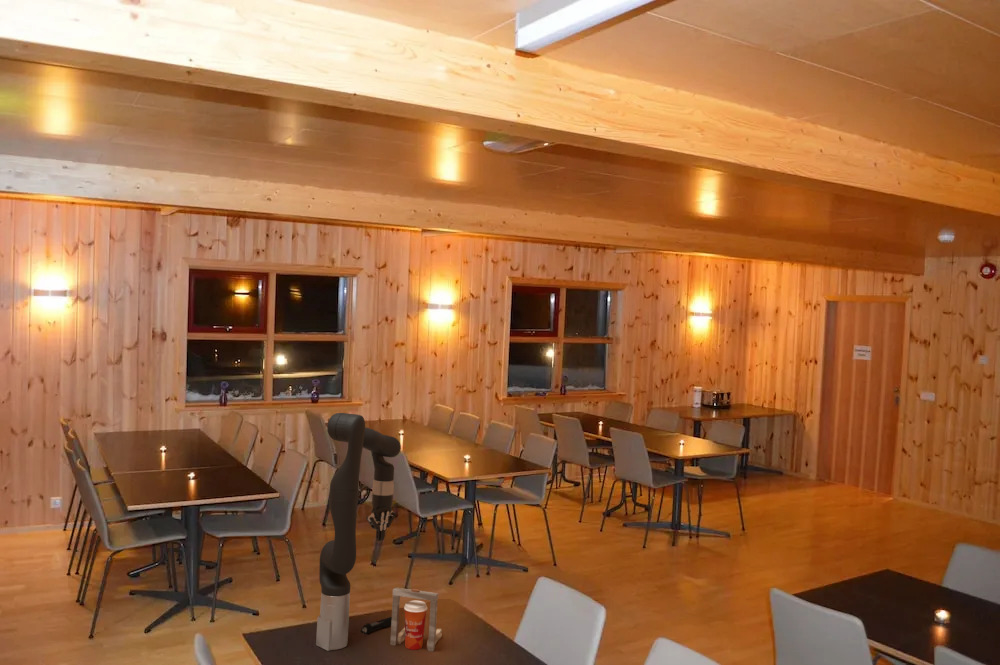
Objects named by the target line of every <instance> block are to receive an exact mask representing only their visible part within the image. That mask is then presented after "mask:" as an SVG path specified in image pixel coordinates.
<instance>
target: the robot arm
mask: <svg viewBox="0 0 1000 665" xmlns="http://www.w3.org/2000/svg"><path fill="white" fill-rule="evenodd" d="M326 429H327V434H328V436H329V438H331V439H332V440H334V441H337V442H343V443H348V444H347V451H346V454H345V458H344V461H343V462H342V464H340V466H339V468H338V469H337V471H336V472H335V473H334V474H333V475H332V478H331V480H330V483H329V484H330V485H329V495H328V496H329V497H328V504H329V505H328V506H329V510H330V515H331V519H332V522H333V527H334V539H333V540H329V541H327V542H326V543H325V544H324V545H323V547H322V548H321V551H320V554H319V574H318V576H319V578H318V579H319V584H320V587H321V588H320V589H321V591H320V592H321V593H320V608H319V610H320V612H319V615H318V616H317V617H316V618H317V620H316V635H315V636H316V639H315V640H316V641H315V645H316V646H317V647H319V648H321V649H323V650H325V651H327V652H329V651H336V650H340V649H344V648H345V647H347V645H348V642H349V641H348V639H349V622H350V620H349V619H350V600H351V582H350V580H349V579H348V576H347V574H349V573H350V572H352V570H353V568H354V566H355V564H356V561H357V532H356V529H357V517H358V516H357V514H358V503H359V501H358V500H359V491H360V490H359V488H360V473H361V470H360V469H361V462H362V460H361V459H362V456H363V455H362V454H363V449H366V450H368V451H370V453H371V458H372V462H373V467H374V470H373V471H374V472H373V483H372V490H371V491H372V494H371V505H372V510H371V514H370V515H367V516H366V518H365V519H366V520H367V522H368V524H369V525H370V527H371V529H372V530H376V531H375V533H376V534H375V538H376V540H377V541H378V542H382V541H384V539H385V534H386V532H385V531H386V529H387V528H390V527H391V525H392V523H393V521H394V519H395V517H396V516H397V513H396V512H394V511H393V508H392V506H393V503H394V489H395V486H394V476H395V466H394V464H393V463H391V462H389V461H387V460H386V459H385V457H386V458H395V457H397V456H398V455H399V454H400V452H401V448H402V447H401V446H402V445H401V442H400V441H399V439H397V438H396V437H393V436H390V435H387V434H383V433H381V432H379V431H377V430H375V429H373V428H369V427H366V422H365V418H364V416H363V415H361V414H356V413H347V412H336V413H333V414H332V415H331V417H330V418H329V419H328V422H327V428H326Z"/></svg>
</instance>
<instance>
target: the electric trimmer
mask: <svg viewBox="0 0 1000 665" xmlns="http://www.w3.org/2000/svg"><path fill="white" fill-rule="evenodd" d="M391 622H392V616H389V617H385V618H382V619H380V620H376V621H374V622H370V623H369V622H368V623H367V622H366V624H364V625H363V626H362V628H361V630H360V633H361V634H363V633H364V634H363V635H365V634H366V635H370V633H372V632H374V631H377V630H381V629H387V628H388V627H391Z"/></svg>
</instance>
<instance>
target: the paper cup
mask: <svg viewBox="0 0 1000 665" xmlns="http://www.w3.org/2000/svg"><path fill="white" fill-rule="evenodd" d="M428 609H429V608H428V606H427V603H426V602H425V601H423V600H418V599H416V600H409V601H407V602H406V603H405V605H404V606H403V610H404V627H405V639H404V646H405V648H406V649H407V650H411V651H414V650H415V651H417V650H420V649H422V648H423V643H424V636H425V635H424V633H425V626H426V617H427V611H428Z"/></svg>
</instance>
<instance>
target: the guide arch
mask: <svg viewBox="0 0 1000 665" xmlns="http://www.w3.org/2000/svg"><path fill="white" fill-rule="evenodd" d="M401 597H403V598H410V599H416V600H422V601H423V600H425V601H430V602H429V604H430V605H429V626H428V639H427V641H426V649H427V651H428V652H434V651H435V650H436V644H437V643H438V642H439V641H440V639H441V638H442V637H443V636H442V634H443V629H442V628H437V621H438V620H437V616H438V602H439V601H438V600H439V593H438V592H437V593H436V592H431V591H424V590H420V589H417V588H411V589H410V588H409V589H408V588H401V587H394V588H393V589H392V602H391V603H392V604H391V607H392V609H391V617H392V622H391V626H390V642H389V643H390V646H397V645H401V644H402V643H403V642H404V641H405V626H404V627H403V628H402V629H401V631H400V632H399V622H400V601H401Z"/></svg>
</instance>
